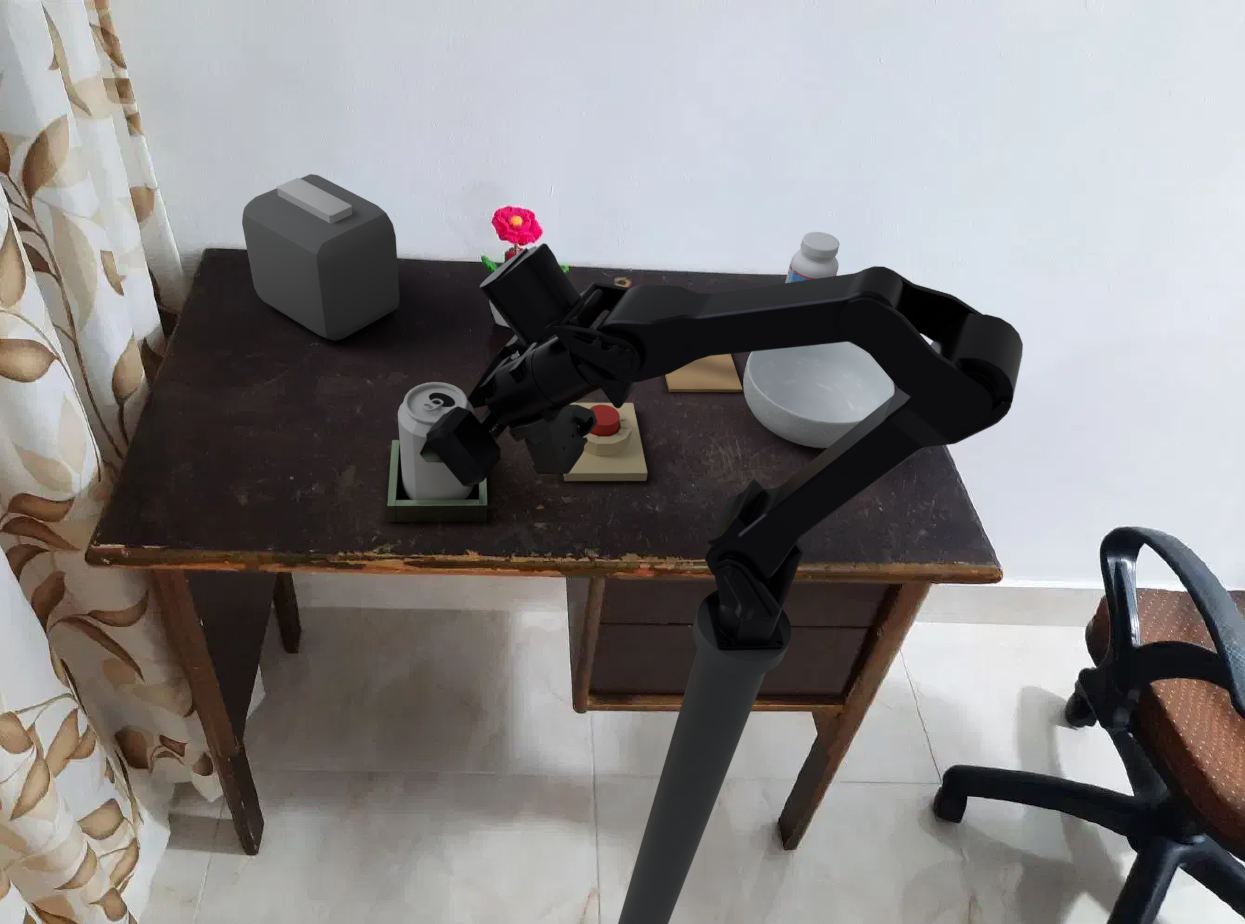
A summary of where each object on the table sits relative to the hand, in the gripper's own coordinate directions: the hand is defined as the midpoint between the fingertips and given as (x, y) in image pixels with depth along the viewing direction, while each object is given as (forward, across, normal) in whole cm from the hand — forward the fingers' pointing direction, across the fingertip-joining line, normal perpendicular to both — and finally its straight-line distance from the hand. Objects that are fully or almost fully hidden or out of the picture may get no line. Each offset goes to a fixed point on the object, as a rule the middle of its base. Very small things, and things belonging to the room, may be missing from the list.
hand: (447, 429), depth 94 cm
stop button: (-4, +15, -12) cm, 20 cm away
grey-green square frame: (+7, 0, -5) cm, 9 cm away
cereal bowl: (-16, +31, -28) cm, 44 cm away
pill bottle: (-11, +52, -24) cm, 58 cm away
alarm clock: (+28, +21, +15) cm, 38 cm away
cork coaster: (-6, +34, -18) cm, 39 cm away
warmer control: (-2, +15, -14) cm, 20 cm away
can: (+7, 0, -5) cm, 9 cm away
